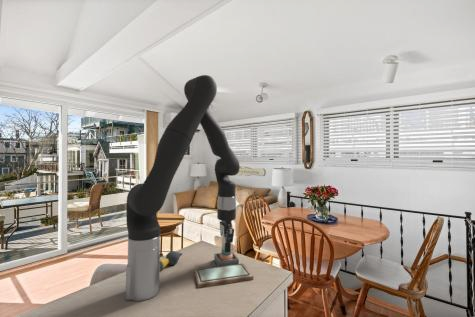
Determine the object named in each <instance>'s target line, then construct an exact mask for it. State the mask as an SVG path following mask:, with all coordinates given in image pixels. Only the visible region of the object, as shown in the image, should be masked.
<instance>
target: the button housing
mask: <svg viewBox="0 0 475 317" xmlns="http://www.w3.org/2000/svg"><path fill="white" fill-rule="evenodd" d="M231 252H232V253H233V259H230V260H222V261H220V253H221V252H217V253H214V258H213V259H214V262H215V263H216V265H217V266H216V267H219V266H227V265H234V264H240V263H239V262H240V260H239V257H238V256H237V255H236V254H235V253H234V251H231Z"/></svg>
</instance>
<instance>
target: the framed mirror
mask: <svg viewBox="0 0 475 317" xmlns="http://www.w3.org/2000/svg"><path fill="white" fill-rule="evenodd" d="M193 273H194V277H195V281H196V283H197V284H196V285H197V288H199V289H200V288H207V287H213V286H219V285H224V284H233V283H238V282H246V281H252V280H254V279H255V278H254V277H255V276H254V275H253V274H252V273H251V272H250V270H249V269H248V267H247V266H246V265H245V264H244V263H239V264H234V265H227V266H219V267H218V266H214V267H213V266H211V267H204V268H197V269H194V270H193Z"/></svg>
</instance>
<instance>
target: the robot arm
mask: <svg viewBox="0 0 475 317" xmlns="http://www.w3.org/2000/svg"><path fill="white" fill-rule="evenodd" d="M217 87H218V86H217V82H216V81H215V79H214V78H213V77H212V76H210V75H206V74H203V75H202V74H201V75H199V76H196V77H194V78H191V79H189V80H188V81H186V82H185V84H184V88H183V91H184V96H185V98H186V100H187V102H186V104H185V105H184V106H183V108H182V109H181V110H180V111H179V112H178V113H177V114H176V115H175V116H174V117H173V118H172V120H171V121H170V122H169V123H168V125H167V126H166V128H165V130H164V132H163V134H162V136H161V138H160V139H159V142H158V143H157V148H156V153H155V157H154V162H153V165H152V167H151V169H150V171H149V173H148V175H147V176H146V178H145V179H144V181H143V182H142V183H139V184H135V185H134V186H132V187H131V188H130V190H128V194H127V196H126V211H125V212H126V228H127V264H126V268H125V271H126V273H125V301H135V302H140V301H146V300H149V299H152V298H154V297H156V296H157V295H158V293H159V292H160V276H161V275H160V273H161V271H160V260H161V225H160V223H159V220H158V216H157V215H158V214H157V213H158V212H159V211H160V210H161V209H162V208H163V207H164V203H165V201H166V198H167V196H168V193H169V189H170V187H171V184H172V182H173V180H174V177H175V175H176V173H177V171H178V170H179V167H180V166H181V163H182V160H183V159H184V158H185V155H186V153H187V151H188V150H189V149H188V148H189V147H190V144H191V142H192V141H193V138H194V136H195V134H196V132H197V129H198V128H199V126H200V125H201V127H202V130H203V132H204V134H205V136H206V138H207V141H208V144H209V147H210V149H211V152H212V153H213V155H214V156H215V157H218V158H219V159H217V160H216V162H215V164H214V174H215V179H216V181H217V185H218V188H217V189H218V190H217V192H218V193H217V209H216V210H217V212H216V214H217V216H216V217H217V220H218V221H219V230H220V237H221V239H222V234H223V236H224V237H225V252H230V251H231V242H232V243H233V242H234V235H235V228H234V227H233V223H232V221H235V220H236V218H237V199H236V198H237V197H236V183H235V182H234V181H231V180H230V178H229V177H231V176H232V177H233V176H236V175H237V174H238V173H239V172H240V169H241V168H240V167H241V166H240V161H239V160H238V157H237V156H236V154H235V152H234V151H233V150H232V148H231V147H230V146H229V145H230V144H229V141H228V139H227V136H226V134H225V132H224V130H223V128H222V127H221V125H220V124H219V123H218V121H217V120H216V118H215V117H214V116H213V115H212V113H211V112H210V109H209V107H210V106H211V105H212V103H213V101H214V100H215V98H216V95H217V90H218V88H217ZM228 238H229V239H228ZM231 252H232V251H231Z"/></svg>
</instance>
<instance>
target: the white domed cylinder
mask: <svg viewBox="0 0 475 317" xmlns="http://www.w3.org/2000/svg"><path fill="white" fill-rule="evenodd" d="M228 239H229V238H228ZM232 243H233V242H231V251H230V252H225V237H224V236H223V234H222V238H221V252H222V255H231V252H233V251H232V249H233V248H232Z"/></svg>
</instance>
